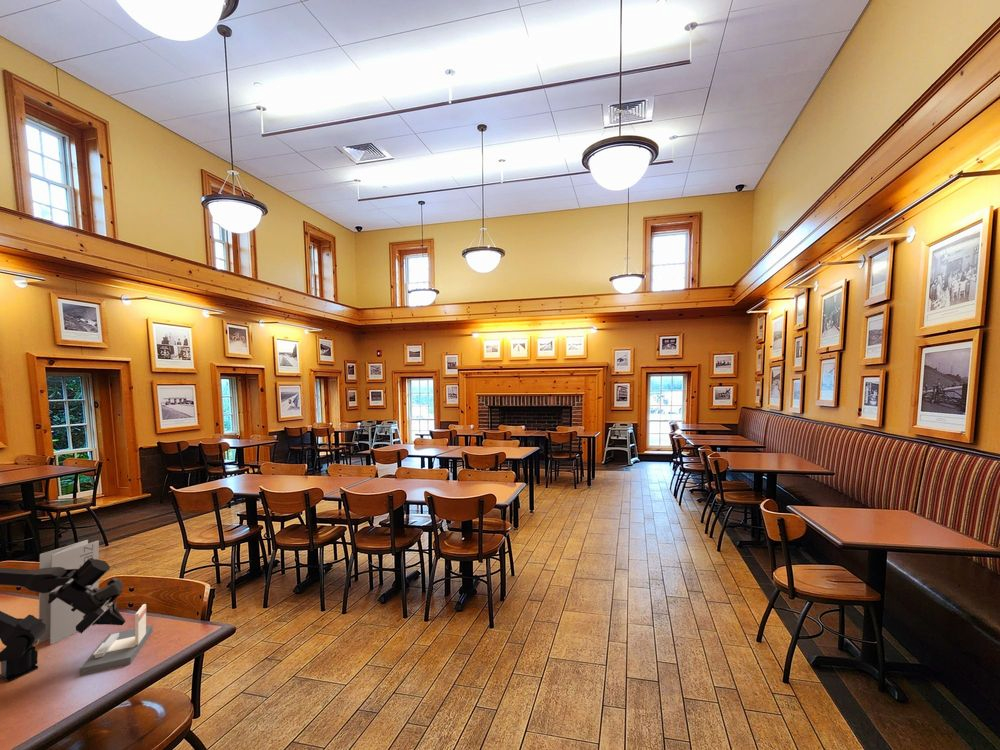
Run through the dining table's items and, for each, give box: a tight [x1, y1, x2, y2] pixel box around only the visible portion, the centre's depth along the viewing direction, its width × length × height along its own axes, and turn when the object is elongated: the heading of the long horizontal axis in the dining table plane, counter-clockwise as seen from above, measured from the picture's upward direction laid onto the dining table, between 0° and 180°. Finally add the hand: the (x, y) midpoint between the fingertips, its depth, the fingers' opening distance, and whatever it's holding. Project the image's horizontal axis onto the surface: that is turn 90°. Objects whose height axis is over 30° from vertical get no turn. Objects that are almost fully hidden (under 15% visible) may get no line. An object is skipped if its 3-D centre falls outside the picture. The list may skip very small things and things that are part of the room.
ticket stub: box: [134, 603, 147, 645], centre depth 141 cm, size 1×7×10 cm, turn 24°
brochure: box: [38, 539, 100, 645], centre depth 151 cm, size 14×6×30 cm, turn 168°
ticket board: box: [79, 624, 154, 676], centre depth 138 cm, size 12×20×3 cm, turn 24°
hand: (123, 623), depth 139 cm, fingers closed
